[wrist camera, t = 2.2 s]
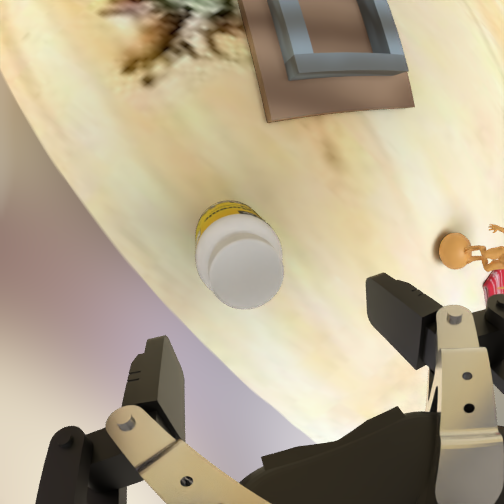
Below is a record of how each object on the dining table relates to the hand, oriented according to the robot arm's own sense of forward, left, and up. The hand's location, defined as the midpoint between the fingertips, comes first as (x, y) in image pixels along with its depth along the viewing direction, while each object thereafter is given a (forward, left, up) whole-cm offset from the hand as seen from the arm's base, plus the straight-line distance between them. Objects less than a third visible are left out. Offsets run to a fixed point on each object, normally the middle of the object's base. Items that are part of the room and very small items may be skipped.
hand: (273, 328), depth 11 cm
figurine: (+7, +24, -15) cm, 29 cm away
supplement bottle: (0, 0, -15) cm, 15 cm away
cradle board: (-16, +12, -15) cm, 25 cm away
